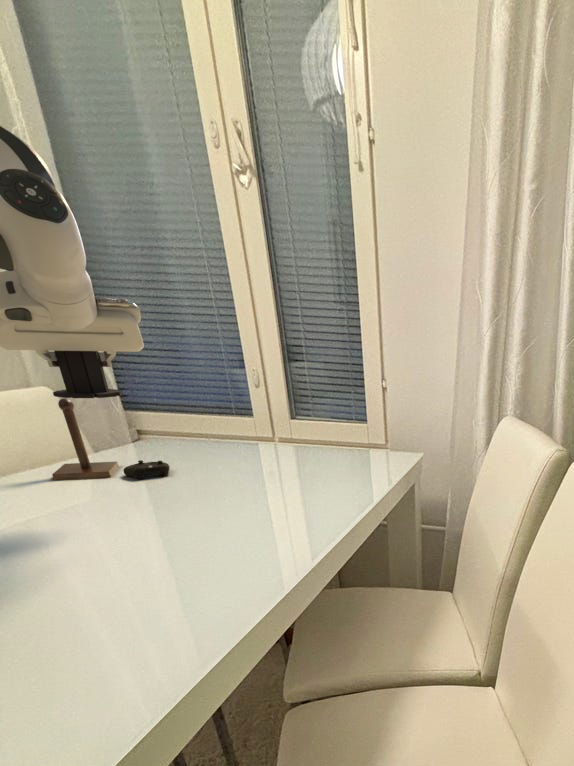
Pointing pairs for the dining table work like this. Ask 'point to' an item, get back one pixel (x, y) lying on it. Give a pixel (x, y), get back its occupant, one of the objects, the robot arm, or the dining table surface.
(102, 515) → the dining table surface
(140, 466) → the gaming controller
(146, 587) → the dining table surface
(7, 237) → the robot arm
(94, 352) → the hat
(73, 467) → the hat stand
